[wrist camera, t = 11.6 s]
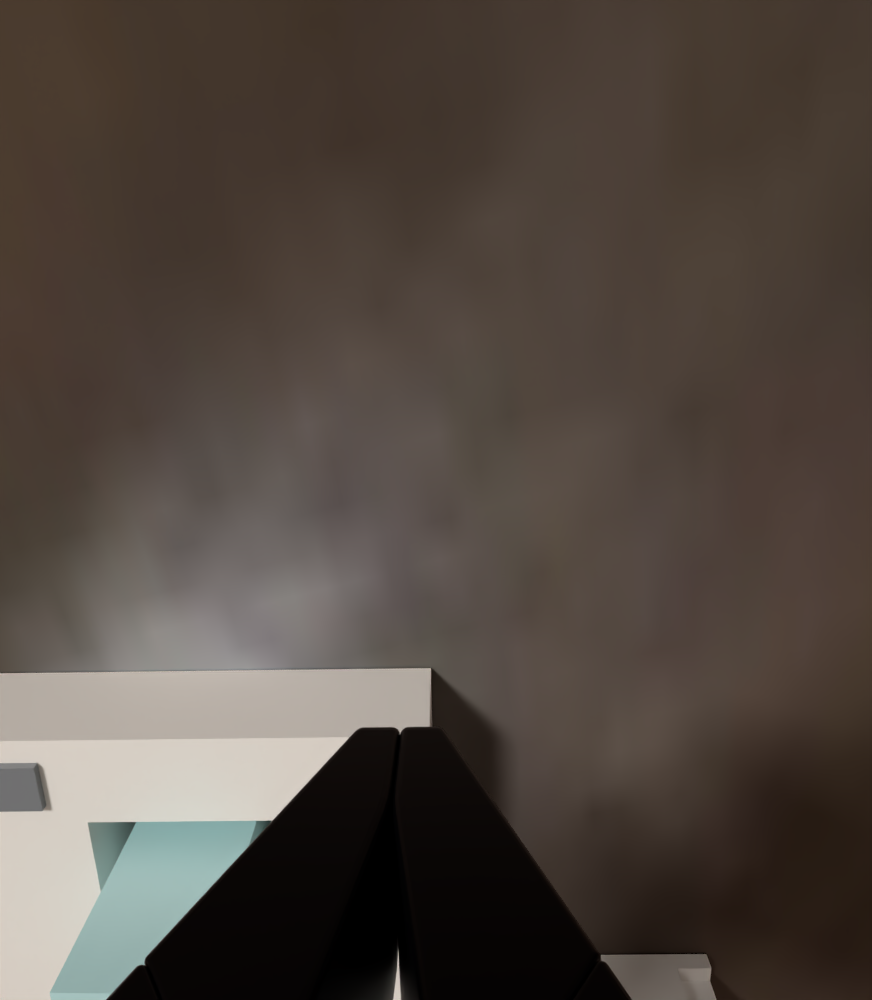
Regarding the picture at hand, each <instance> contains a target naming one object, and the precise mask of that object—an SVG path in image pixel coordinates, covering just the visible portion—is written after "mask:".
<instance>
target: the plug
mask: <svg viewBox="0 0 872 1000" xmlns="http://www.w3.org/2000/svg"><path fill="white" fill-rule="evenodd" d="M270 823H271V821H181V822H136V824H135V826H134V828H133V830H132V832H131V834H130V836H129V838H128V840H127V842H126V843H125V845H124V847H123V849H122V851H121V853H120V855H119V857H118V859H117V861H116V863H115V865H114V867H113V869H112V871H111V873H110V875H109V877H108V879H107V881H106V883H105V885H104V887H103V889H102V891H101V893H100V895H99V897H98V899H97V901H96V903H95V905H94V906H93V908H92V910H91V912H90V914H89V916H88V918H87V920H86V922H85V924H84V926H83V928H82V930H81V932H80V934H79V936H78V938H77V940H76V942H75V944H74V946H73V948H72V950H71V952H70V954H69V956H68V958H67V960H66V962H65V964H64V966H63V968H62V969H61V971H60V973H59V975H58V977H57V979H56V981H55V983H54V985H53V987H52V989H51V991H50V997H51V1000H106V999H107V998H108V997H109V996H110V995H111V994H112V993H113V991H114V990H115V989H116V988H117V987H118V986H119V985H120V984H121V983H122V982H123V981H124V980H125V979H126V977H127V976H128V975H129V974H130V973H131V972H132V971H133V970H134V969H135V968H136V967H137V966H138V965H145V963H144V962H145V958H146V956H147V955H148V954H149V953H150V952H151V951H152V950H153V949H154V948H155V947H156V946H157V945H158V943H159V942H160V941H161V940H162V939H163V938H164V937H165V936H166V935H167V934H168V933H169V932H170V931H171V929H172V928H173V927H174V926H175V925H176V924H177V923H178V922H179V921H180V920H181V919H182V918H183V916H184V915H185V914H186V913H187V912H188V911H189V910H190V909H191V908H192V907H193V906H194V905H195V904H196V902H197V901H198V900H199V899H200V898H201V897H202V896H203V895H204V894H205V893H206V892H207V891H208V889H209V888H210V887H211V886H212V885H213V884H214V883H215V882H216V881H217V880H218V879H219V878H220V877H221V875H222V874H223V873H224V872H225V871H226V870H227V869H228V868H229V867H230V866H231V865H232V864H233V863H234V861H235V860H236V859H237V858H238V857H239V856H240V855H241V854H242V853H243V852H244V851H245V850H246V848H247V847H248V846H249V845H250V844H251V843H252V842H253V841H254V840H255V839H256V838H257V837H258V836H259V834H260V833H261V832H262V831H263V830H264V829H265V828H266V827H267V826H268V825H269V824H270Z"/></svg>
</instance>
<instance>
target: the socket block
mask: <svg viewBox="0 0 872 1000" xmlns="http://www.w3.org/2000/svg"><path fill="white" fill-rule="evenodd" d="M362 727H394V728H396V729H398V731H399V732H400V733H401V731H402V730H403V729H404V728H406V727H432V692H431V668H403V669H321V670H239V671H158V672H76V673H0V1000H51V997H50V991H51V989H52V987H53V985H54V983H55V981H56V979H57V977H58V975H59V973H60V971H61V969H62V968H63V966H64V964H65V962H66V960H67V958H68V956H69V954H70V952H71V950H72V948H73V946H74V944H75V942H76V940H77V938H78V936H79V934H80V932H81V930H82V928H83V926H84V924H85V922H86V920H87V918H88V916H89V914H90V912H91V910H92V908H93V906H94V905H95V903H96V901H97V899H98V897H99V895H100V893H101V891H102V889H103V887H104V885H105V883H106V881H107V879H108V877H109V875H110V873H111V871H112V869H113V867H114V865H115V863H116V861H117V859H118V857H119V855H120V853H121V851H122V849H123V847H124V845H125V843H126V842H127V840H128V838H129V836H130V834H131V832H132V830H133V828H134V826H135V824H136V822H181V821H272V820H273V819H274V818H275V817H276V816H277V815H278V814H279V813H280V812H281V811H282V810H283V809H284V807H285V806H286V805H287V804H288V803H289V802H290V801H291V800H292V799H293V798H294V797H295V796H296V795H297V793H298V792H299V791H300V790H301V789H302V788H303V787H304V786H305V785H306V784H307V783H308V782H309V780H310V779H311V778H312V777H313V776H314V775H315V774H316V773H317V772H318V771H319V770H320V769H321V768H322V766H323V765H324V764H325V763H326V762H327V761H328V760H329V759H330V758H331V757H332V756H333V755H334V754H335V752H336V751H337V750H338V749H339V748H340V747H341V746H342V745H343V744H344V743H345V742H346V741H347V739H348V738H349V737H350V736H351V735H352V734H353V733H354V732H355V731H356V730H357V729H359V728H362ZM393 1000H401V992H400V975H399V952H398V962H397V974H396V982H395V990H394V998H393Z"/></svg>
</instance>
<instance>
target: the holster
mask: <svg viewBox="0 0 872 1000" xmlns="http://www.w3.org/2000/svg"><path fill="white" fill-rule="evenodd" d="M601 961H604V962H606V963H607V964H608V966H609V967H610V968H611V970H612V971H613V973H614V974H615V976H616V977H617V979H618V980H619V981H620V983H621V984H622V986H623V987H624V989H625V990H626V992H627V993H628V994H629V996H630V997H631V999H632V1000H716V997H715V994H714V991H713V988H712V985H711V983H710V977H711V969H712V968H711V966H710V963H709V960H708V957H707V954H647V955H601Z"/></svg>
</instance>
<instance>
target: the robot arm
mask: <svg viewBox="0 0 872 1000" xmlns="http://www.w3.org/2000/svg"><path fill="white" fill-rule="evenodd" d="M398 952H399V975H400V992H401V1000H632V999H631V997H630V996H629V994H628V993H627V992H626V990H625V989H624V987H623V986H622V984H621V983H620V981H619V980H618V979H617V977H616V976H615V974H614V973H613V971H612V970H611V968H610V967H609V966H608V964H607V963H606V962H604V961H601V955H600V953H599V952H598V950H597V949H596V948H595V946H594V945H593V943H592V942H591V940H590V939H589V938H588V936H587V935H586V933H585V932H584V930H583V929H582V927H581V926H580V925H579V923H578V922H577V920H576V919H575V917H574V916H573V915H572V913H571V912H570V910H569V909H568V907H567V906H566V904H565V903H564V902H563V900H562V899H561V897H560V896H559V894H558V893H557V892H556V890H555V889H554V887H553V886H552V884H551V883H550V881H549V880H548V879H547V877H546V876H545V874H544V873H543V871H542V870H541V869H540V867H539V866H538V864H537V863H536V861H535V860H534V858H533V857H532V856H531V854H530V853H529V851H528V850H527V848H526V847H525V845H524V844H523V843H522V841H521V840H520V838H519V837H518V835H517V834H516V833H515V831H514V830H513V828H512V827H511V825H510V824H509V822H508V821H507V820H506V818H505V817H504V815H503V814H502V812H501V811H500V810H499V808H498V807H497V805H496V804H495V802H494V801H493V799H492V798H491V797H490V795H489V794H488V792H487V791H486V789H485V788H484V787H483V785H482V784H481V782H480V781H479V779H478V778H477V776H476V775H475V774H474V772H473V771H472V769H471V768H470V766H469V765H468V764H467V762H466V761H465V759H464V758H463V756H462V755H461V753H460V752H459V751H458V749H457V748H456V746H455V745H454V743H453V742H452V741H451V739H450V738H449V736H448V735H447V733H446V732H445V731H444V730H443V729H442V728H441V727H437V726H435V727H406V728H404V729H403V730H402V731H401V733H400V732H399V731H398V729H396V728H394V727H362V728H359V729H357V730H356V731H355V732H354V733H353V734H352V735H351V736H350V737H349V738H348V739H347V741H346V742H345V743H344V744H343V745H342V746H341V747H340V748H339V749H338V750H337V751H336V752H335V754H334V755H333V756H332V757H331V758H330V759H329V760H328V761H327V762H326V763H325V764H324V765H323V766H322V768H321V769H320V770H319V771H318V772H317V773H316V774H315V775H314V776H313V777H312V778H311V779H310V780H309V782H308V783H307V784H306V785H305V786H304V787H303V788H302V789H301V790H300V791H299V792H298V793H297V795H296V796H295V797H294V798H293V799H292V800H291V801H290V802H289V803H288V804H287V805H286V806H285V807H284V809H283V810H282V811H281V812H280V813H279V814H278V815H277V816H276V817H275V818H274V819H273V820H272V821H271V823H270V824H269V825H268V826H267V827H266V828H265V829H264V830H263V831H262V832H261V833H260V834H259V836H258V837H257V838H256V839H255V840H254V841H253V842H252V843H251V844H250V845H249V846H248V847H247V848H246V850H245V851H244V852H243V853H242V854H241V855H240V856H239V857H238V858H237V859H236V860H235V861H234V863H233V864H232V865H231V866H230V867H229V868H228V869H227V870H226V871H225V872H224V873H223V874H222V875H221V877H220V878H219V879H218V880H217V881H216V882H215V883H214V884H213V885H212V886H211V887H210V888H209V889H208V891H207V892H206V893H205V894H204V895H203V896H202V897H201V898H200V899H199V900H198V901H197V902H196V904H195V905H194V906H193V907H192V908H191V909H190V910H189V911H188V912H187V913H186V914H185V915H184V916H183V918H182V919H181V920H180V921H179V922H178V923H177V924H176V925H175V926H174V927H173V928H172V929H171V931H170V932H169V933H168V934H167V935H166V936H165V937H164V938H163V939H162V940H161V941H160V942H159V943H158V945H157V946H156V947H155V948H154V949H153V950H152V951H151V952H150V953H149V954H148V955H147V956H146V958H145V962H144V963H145V965H138V966H137V967H136V968H135V969H134V970H133V971H132V972H131V973H130V974H129V975H128V976H127V977H126V979H125V980H124V981H123V982H122V983H121V984H120V985H119V986H118V987H117V988H116V989H115V990H114V991H113V993H112V994H111V995H110V996H109V997H108V998H107V999H106V1000H393V998H394V990H395V982H396V974H397V962H398Z"/></svg>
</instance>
